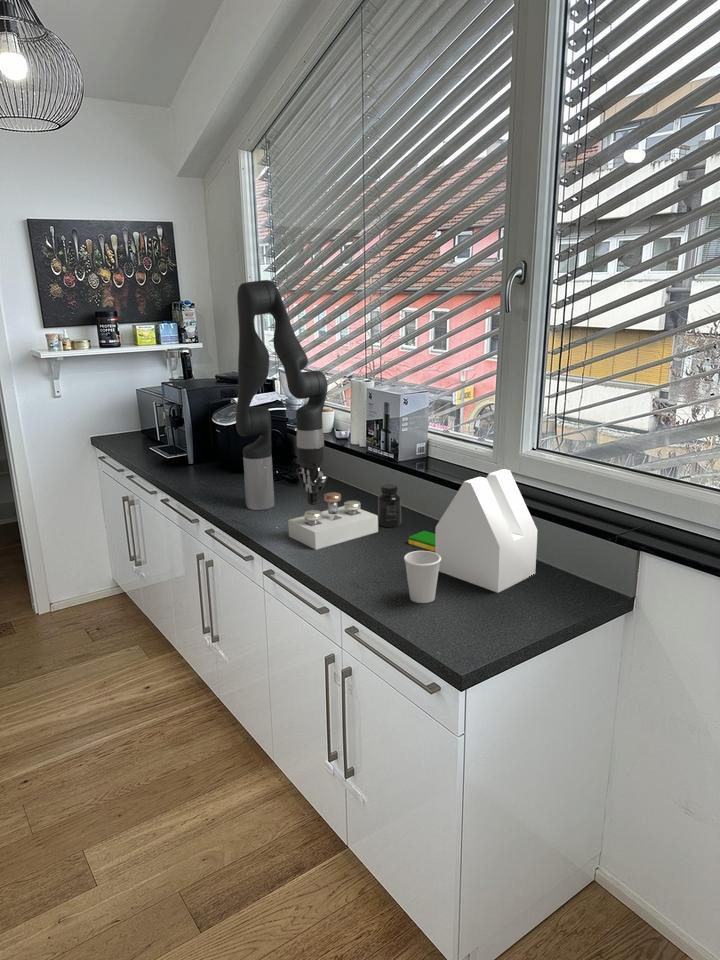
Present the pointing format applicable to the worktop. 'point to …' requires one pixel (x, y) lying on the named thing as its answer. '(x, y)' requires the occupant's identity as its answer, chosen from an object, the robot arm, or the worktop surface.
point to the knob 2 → (352, 507)
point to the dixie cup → (422, 575)
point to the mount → (333, 528)
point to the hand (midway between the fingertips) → (312, 504)
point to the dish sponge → (423, 540)
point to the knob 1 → (312, 517)
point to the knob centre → (332, 502)
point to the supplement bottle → (389, 506)
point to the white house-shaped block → (487, 534)
